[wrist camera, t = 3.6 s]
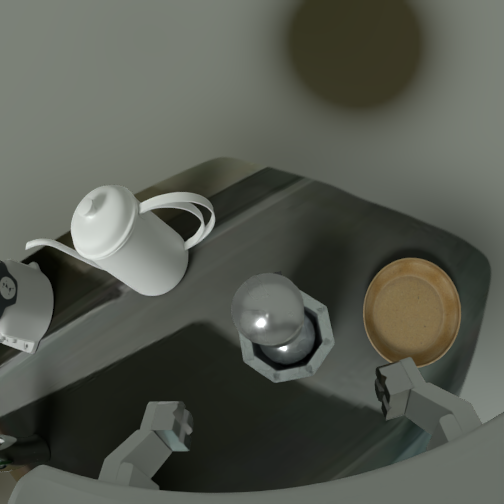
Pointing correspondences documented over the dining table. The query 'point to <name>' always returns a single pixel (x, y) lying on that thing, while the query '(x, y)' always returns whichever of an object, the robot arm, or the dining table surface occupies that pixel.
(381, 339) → the plant saucer
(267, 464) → the dining table surface
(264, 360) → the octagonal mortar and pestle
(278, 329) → the dumbbell
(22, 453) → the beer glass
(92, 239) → the coffeepot
